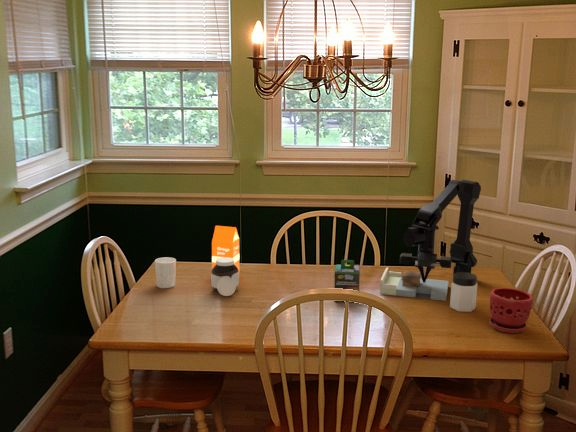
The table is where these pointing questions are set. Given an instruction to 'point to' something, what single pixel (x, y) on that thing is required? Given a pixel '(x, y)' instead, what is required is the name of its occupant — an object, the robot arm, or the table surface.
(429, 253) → the robot arm
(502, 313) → the plant pot
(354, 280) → the chalk box
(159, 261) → the white cup
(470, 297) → the jar
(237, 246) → the orange juice
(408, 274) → the walnut block
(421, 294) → the deck
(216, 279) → the spread jar
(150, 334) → the table surface
